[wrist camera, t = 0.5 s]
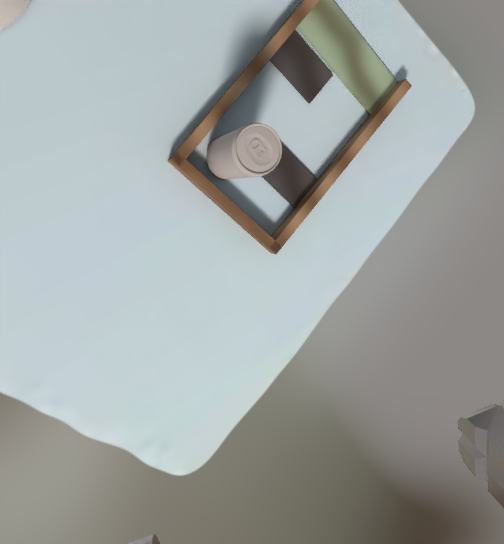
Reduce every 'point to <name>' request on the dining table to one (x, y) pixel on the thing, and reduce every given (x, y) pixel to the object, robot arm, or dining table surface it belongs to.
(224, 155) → the beverage can
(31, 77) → the dining table surface
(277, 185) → the box
